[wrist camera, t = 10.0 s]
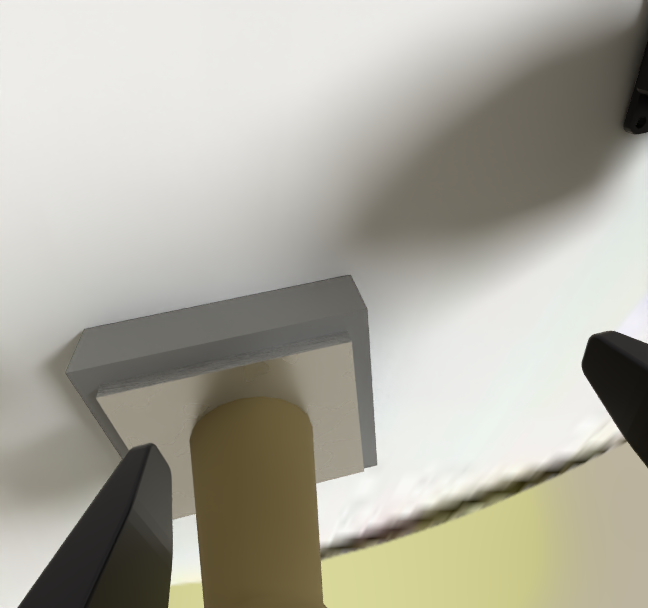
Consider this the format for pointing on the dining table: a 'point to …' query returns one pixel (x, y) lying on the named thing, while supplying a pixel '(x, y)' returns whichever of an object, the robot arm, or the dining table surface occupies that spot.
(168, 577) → the robot arm
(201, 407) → the kitchen scale
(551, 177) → the dining table surface
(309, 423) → the cork
